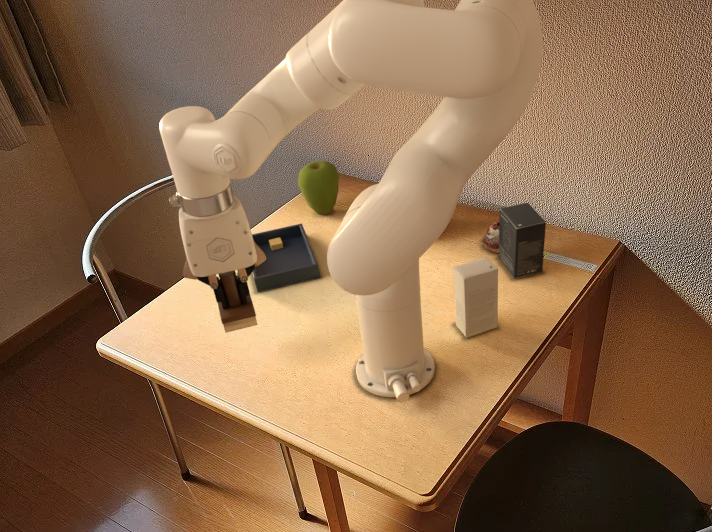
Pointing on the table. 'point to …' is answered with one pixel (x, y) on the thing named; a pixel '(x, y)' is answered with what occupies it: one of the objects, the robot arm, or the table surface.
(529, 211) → the box
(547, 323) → the table surface
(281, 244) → the tan square block
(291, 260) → the tray
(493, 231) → the pastry
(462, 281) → the cosmetic box
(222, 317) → the peg on plate
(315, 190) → the apple
